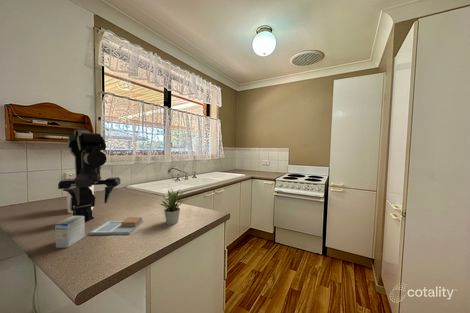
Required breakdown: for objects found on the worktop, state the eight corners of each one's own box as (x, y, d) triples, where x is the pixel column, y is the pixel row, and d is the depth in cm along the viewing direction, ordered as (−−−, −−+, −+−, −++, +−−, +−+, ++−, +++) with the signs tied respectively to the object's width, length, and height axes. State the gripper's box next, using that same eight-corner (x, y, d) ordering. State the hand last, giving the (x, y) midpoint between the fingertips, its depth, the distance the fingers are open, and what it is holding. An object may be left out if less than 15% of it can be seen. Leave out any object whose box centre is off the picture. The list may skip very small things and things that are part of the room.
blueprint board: (88, 235, 74) (87, 227, 74) (108, 222, 87) (108, 216, 87) (128, 234, 75) (128, 227, 75) (143, 222, 87) (142, 216, 87)
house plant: (196, 220, 91) (196, 187, 90) (175, 231, 78) (175, 193, 78) (175, 215, 97) (175, 184, 97) (152, 224, 85) (152, 189, 84)
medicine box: (73, 237, 73) (72, 215, 72) (85, 237, 73) (84, 215, 73) (55, 248, 65) (54, 223, 64) (69, 247, 65) (68, 223, 65)
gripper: (48, 167, 62) (49, 213, 63) (112, 166, 68) (113, 208, 69) (65, 164, 73) (66, 204, 73) (120, 164, 79) (121, 200, 80)
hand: (92, 204), depth 74 cm, fingers open, 9 cm apart
